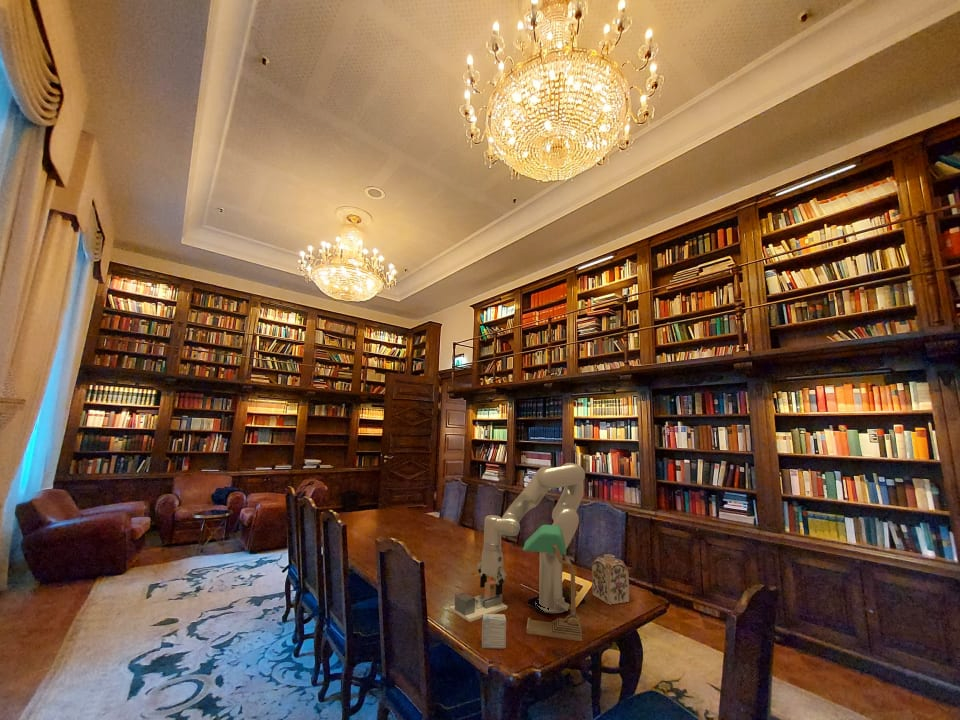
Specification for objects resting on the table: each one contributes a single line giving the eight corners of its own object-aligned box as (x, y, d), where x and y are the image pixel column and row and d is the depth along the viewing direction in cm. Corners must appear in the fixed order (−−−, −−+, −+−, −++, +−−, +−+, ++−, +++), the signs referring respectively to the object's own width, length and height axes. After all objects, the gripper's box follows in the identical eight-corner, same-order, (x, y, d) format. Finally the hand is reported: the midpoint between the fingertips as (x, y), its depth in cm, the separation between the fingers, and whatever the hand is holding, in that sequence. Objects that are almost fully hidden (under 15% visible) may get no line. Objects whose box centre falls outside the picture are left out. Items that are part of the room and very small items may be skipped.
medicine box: (504, 642, 128) (505, 613, 130) (505, 649, 123) (506, 619, 125) (481, 641, 128) (482, 613, 129) (481, 648, 123) (482, 619, 125)
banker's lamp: (583, 646, 127) (581, 535, 134) (521, 637, 131) (522, 530, 139) (580, 625, 142) (578, 526, 149) (525, 618, 146) (526, 522, 154)
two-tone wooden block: (497, 602, 157) (498, 582, 158) (477, 608, 150) (478, 588, 152) (492, 599, 159) (492, 580, 161) (472, 605, 152) (472, 585, 154)
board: (507, 608, 154) (507, 597, 155) (469, 621, 141) (470, 609, 142) (486, 598, 163) (486, 587, 164) (449, 609, 151) (449, 597, 152)
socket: (474, 612, 147) (475, 598, 148) (465, 615, 144) (465, 601, 145) (463, 606, 152) (464, 592, 153) (454, 609, 149) (455, 595, 150)
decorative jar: (609, 605, 161) (607, 560, 165) (591, 595, 171) (590, 552, 175) (630, 602, 165) (628, 558, 169) (612, 592, 176) (611, 550, 180)
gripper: (512, 550, 157) (511, 595, 153) (485, 540, 170) (484, 582, 166) (499, 552, 152) (498, 599, 149) (472, 543, 165) (470, 586, 162)
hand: (490, 590), depth 158 cm, fingers open, 9 cm apart
